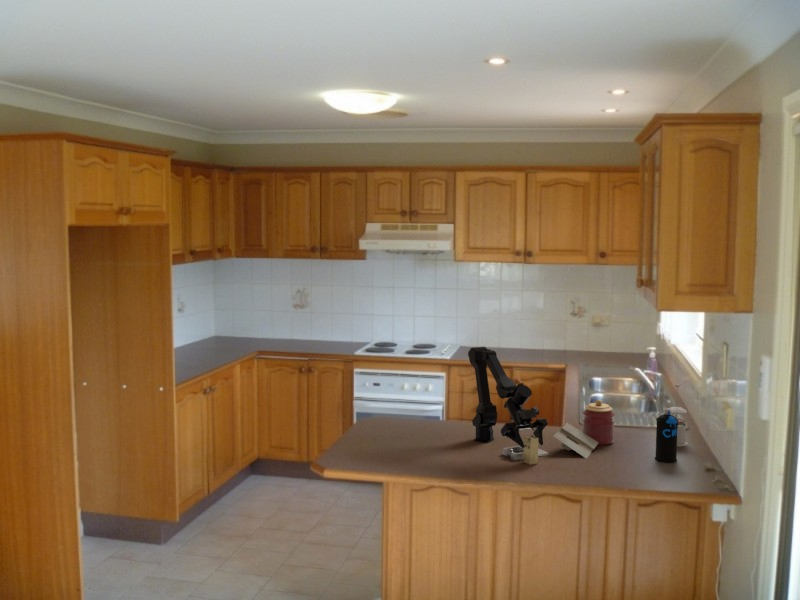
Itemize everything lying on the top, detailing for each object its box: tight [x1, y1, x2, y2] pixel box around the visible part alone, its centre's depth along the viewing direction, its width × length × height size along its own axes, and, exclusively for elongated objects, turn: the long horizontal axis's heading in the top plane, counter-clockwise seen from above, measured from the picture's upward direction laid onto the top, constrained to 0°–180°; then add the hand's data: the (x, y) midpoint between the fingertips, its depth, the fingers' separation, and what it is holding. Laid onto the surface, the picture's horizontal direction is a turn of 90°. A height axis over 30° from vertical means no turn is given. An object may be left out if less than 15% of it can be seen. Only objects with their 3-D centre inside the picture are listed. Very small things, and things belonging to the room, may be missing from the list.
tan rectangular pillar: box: [523, 434, 539, 466], centre depth 301 cm, size 4×4×10 cm
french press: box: [667, 383, 688, 447], centre depth 327 cm, size 10×12×25 cm
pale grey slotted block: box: [553, 422, 598, 459], centre depth 317 cm, size 16×9×15 cm
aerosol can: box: [654, 408, 679, 464], centre depth 304 cm, size 8×8×20 cm
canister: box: [582, 399, 615, 446], centre depth 330 cm, size 13×13×18 cm
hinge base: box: [502, 445, 550, 461], centre depth 311 cm, size 17×9×3 cm, turn 115°
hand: (533, 446), depth 299 cm, fingers open, 8 cm apart
